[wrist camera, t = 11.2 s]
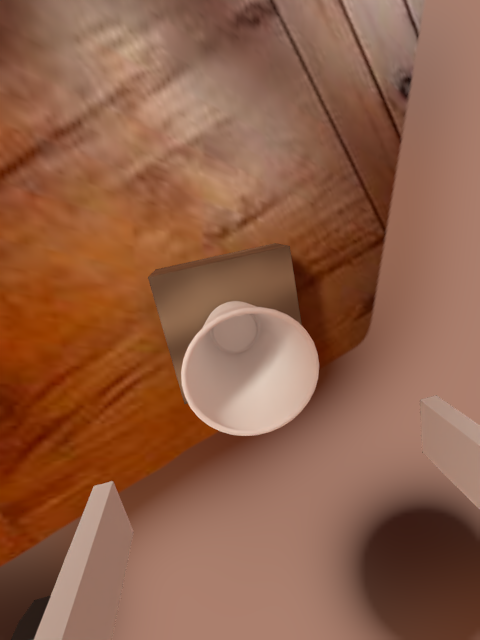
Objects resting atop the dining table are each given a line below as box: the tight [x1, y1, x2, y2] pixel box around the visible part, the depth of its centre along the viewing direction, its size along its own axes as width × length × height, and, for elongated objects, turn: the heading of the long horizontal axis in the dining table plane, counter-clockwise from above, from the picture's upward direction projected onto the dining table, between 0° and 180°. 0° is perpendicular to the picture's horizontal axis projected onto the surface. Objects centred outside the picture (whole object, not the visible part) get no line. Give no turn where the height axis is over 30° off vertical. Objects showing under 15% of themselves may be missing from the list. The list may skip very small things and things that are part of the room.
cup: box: [181, 301, 319, 436], centre depth 28 cm, size 10×10×11 cm
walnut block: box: [148, 243, 302, 404], centre depth 36 cm, size 14×14×6 cm
